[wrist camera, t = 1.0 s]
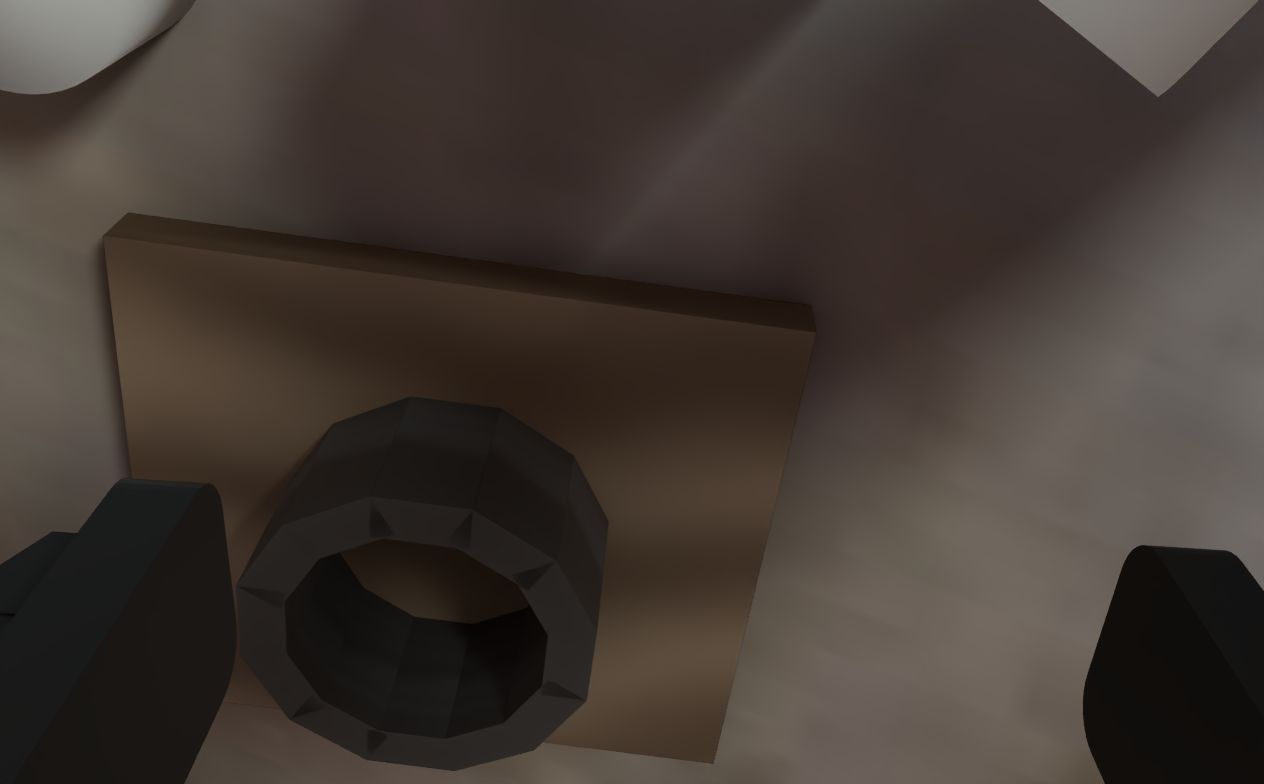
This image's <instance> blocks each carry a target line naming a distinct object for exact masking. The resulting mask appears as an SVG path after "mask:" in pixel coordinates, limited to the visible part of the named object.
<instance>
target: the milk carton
mask: <svg viewBox="0 0 1264 784" xmlns="http://www.w3.org/2000/svg"><path fill="white" fill-rule="evenodd" d="M1039 1H1040V2H1041V3H1043V4H1044V5H1045V6H1046V7H1047V8H1049V9H1050V10H1051V11H1052V12H1054V13H1055V14H1056V15H1057V16H1059V17H1060V18H1061V19H1062V20H1063V21H1065V22H1066V23H1067V24H1068V25H1070V26H1071V27H1072V28H1073V29H1075V30H1076V31H1077V32H1078V33H1079V34H1081V35H1082V36H1083V37H1084V38H1086V39H1087V40H1088V41H1089V42H1091V43H1092V44H1093V45H1094V46H1096V47H1097V48H1098V49H1099V50H1100V51H1102V52H1103V53H1104V54H1105V55H1107V56H1108V57H1109V58H1110V59H1112V60H1113V61H1114V62H1115V63H1116V64H1118V65H1119V66H1120V67H1121V68H1123V69H1124V70H1125V71H1126V72H1128V73H1129V74H1130V75H1131V76H1132V77H1134V78H1135V79H1136V80H1137V81H1139V82H1140V83H1141V84H1142V85H1144V86H1145V87H1146V88H1147V89H1149V90H1150V91H1151V92H1152V93H1153V94H1155V95H1156V96H1157V97H1159V96H1160V95H1161V94H1163V93H1164V92H1165V91H1167V90H1168V89H1169V88H1171V87H1172V86H1173V85H1174V84H1175V83H1176V82H1177V81H1178V80H1179V79H1180V78H1181V77H1182V76H1183V75H1184V74H1185V73H1186V72H1187V71H1188V70H1189V69H1190V68H1191V67H1192V66H1193V65H1194V64H1195V63H1196V62H1197V61H1198V60H1199V59H1200V58H1201V57H1202V56H1203V55H1204V54H1205V53H1206V52H1207V51H1208V50H1209V49H1210V48H1211V47H1212V46H1213V45H1214V44H1215V43H1216V42H1217V41H1218V40H1219V39H1220V38H1221V37H1222V36H1223V35H1224V34H1225V33H1226V32H1227V31H1228V30H1229V29H1230V28H1231V27H1232V26H1233V25H1234V24H1235V23H1236V22H1237V21H1238V20H1239V19H1240V18H1241V17H1242V16H1243V15H1245V14H1246V13H1247V12H1248V11H1249V10H1250V9H1251V8H1252V7H1253V6H1254V5H1255V4H1256V3H1257V2H1258V1H1259V0H1039Z"/></svg>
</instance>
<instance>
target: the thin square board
mask: <svg viewBox="0 0 1264 784" xmlns="http://www.w3.org/2000/svg"><path fill="white" fill-rule="evenodd" d="M103 241H104V249H105V258H106V266H107V274H108V283H109V291H110V300H111V308H112V316H113V325H114V333H115V341H116V350H117V358H118V367H119V375H120V383H121V392H122V400H123V409H124V417H125V425H126V434H127V442H128V450H129V459H130V467H131V476H132V478H134V479H149V480H165V481H181V482H196V483H210V484H213V485H214V486H215V487H216V489H217V490H218V492H219V495H220V498H221V502H222V507H223V515H224V523H225V531H226V540H227V548H228V556H229V564H230V573H231V581H232V589H233V597H234V606H235V614H236V624H237V642H236V654H235V660H234V666H233V671H232V675H231V679H230V683H229V686H228V689H227V692H226V694H225V697H224V699H223V701H222V702H228V703H236V704H244V705H252V706H260V707H268V708H276V709H282V711H283V712H284V713H285V714H286V716H287V717H288V718H289V719H290V720H291V721H293V722H295V723H297V724H299V725H301V726H303V727H305V728H307V729H309V730H311V731H312V732H314V733H316V734H318V735H320V736H322V737H324V738H326V739H328V740H330V741H332V742H333V743H335V744H337V745H339V746H341V747H343V748H345V749H347V750H349V751H351V752H353V753H354V754H356V755H358V756H360V757H362V758H364V759H366V760H371V761H379V762H387V763H395V764H403V765H411V766H419V767H427V768H435V769H443V770H451V771H456V770H460V769H464V768H468V767H472V766H476V765H479V764H483V763H487V762H491V761H495V760H499V759H502V758H506V757H510V756H514V755H518V754H522V753H525V752H529V751H533V750H535V749H536V748H537V747H538V746H539V745H540V744H541V743H542V742H545V743H553V744H561V745H569V746H577V747H585V748H593V749H600V750H608V751H616V752H624V753H632V754H640V755H648V756H656V757H664V758H672V759H680V760H688V761H696V762H703V763H711V764H714V760H715V755H716V751H717V747H718V743H719V739H720V734H721V730H722V726H723V722H724V718H725V714H726V709H727V705H728V701H729V697H730V693H731V688H732V684H733V680H734V676H735V672H736V668H737V663H738V659H739V655H740V651H741V647H742V642H743V638H744V634H745V630H746V626H747V622H748V617H749V613H750V609H751V605H752V601H753V596H754V592H755V588H756V584H757V580H758V576H759V571H760V567H761V563H762V559H763V555H764V550H765V546H766V542H767V538H768V534H769V530H770V525H771V521H772V517H773V513H774V509H775V504H776V500H777V496H778V492H779V488H780V484H781V479H782V475H783V471H784V467H785V463H786V458H787V454H788V450H789V446H790V442H791V438H792V433H793V429H794V425H795V421H796V417H797V412H798V408H799V404H800V400H801V396H802V392H803V387H804V383H805V379H806V375H807V371H808V366H809V362H810V358H811V354H812V350H813V346H814V341H815V337H816V327H815V322H814V317H813V311H812V306H808V305H801V304H793V303H786V302H779V301H771V300H764V299H757V298H749V297H742V296H735V295H727V294H720V293H713V292H705V291H698V290H691V289H683V288H676V287H669V286H661V285H654V284H647V283H639V282H632V281H625V280H617V279H610V278H603V277H595V276H588V275H581V274H573V273H566V272H559V271H552V270H544V269H537V268H530V267H522V266H515V265H508V264H500V263H493V262H486V261H478V260H471V259H464V258H456V257H449V256H442V255H434V254H427V253H420V252H412V251H405V250H398V249H390V248H383V247H376V246H368V245H361V244H354V243H346V242H339V241H332V240H324V239H317V238H310V237H302V236H295V235H288V234H280V233H273V232H266V231H258V230H251V229H244V228H236V227H229V226H222V225H214V224H207V223H200V222H192V221H185V220H178V219H170V218H163V217H156V216H148V215H141V214H134V213H127V214H126V215H125V216H124V217H123V218H122V219H121V220H120V221H119V222H117V223H116V224H115V225H114V226H113V227H112V228H111V229H110V230H109V231H108V232H107V233H105V234H104V235H103Z"/></svg>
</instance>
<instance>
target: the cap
mask: <svg viewBox="0 0 1264 784" xmlns="http://www.w3.org/2000/svg"><path fill="white" fill-rule="evenodd" d="M195 1H196V0H0V90H4V91H9V92H14V93H21V94H49V93H54V92H59V91H63V90H66V89H69V88H71V87H74V86H76V85H78V84H80V83H82V82H84V81H85V80H87V79H89V78H90V77H92V76H94V75H95V74H97V73H98V72H100V71H102V70H103V69H105V68H106V67H108V66H109V65H111V64H113V63H114V62H116V61H117V60H119V59H120V58H122V57H124V56H125V55H127V54H128V53H130V52H132V51H133V50H135V49H136V48H138V47H139V46H141V45H143V44H144V43H146V42H147V41H149V40H150V39H152V38H154V37H155V36H157V35H158V34H160V33H162V32H163V31H165V30H166V29H168V28H169V27H171V26H173V25H174V24H175V23H176V22H178V21H179V20H180V19H181V18H182V17H183V16H184V15H185V14H186V13H187V12H188V11H189V10H190V8H191V7H192V5H193V4H194V2H195Z"/></svg>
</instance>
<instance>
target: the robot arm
mask: <svg viewBox="0 0 1264 784" xmlns="http://www.w3.org/2000/svg"><path fill="white" fill-rule="evenodd" d="M236 642H237V624H236V614H235V606H234V597H233V589H232V581H231V573H230V564H229V556H228V548H227V540H226V531H225V523H224V515H223V507H222V502H221V498H220V495H219V492H218V490H217V489H216V487H215V486H214V485H213V484H210V483H196V482H181V481H165V480H149V479H134V478H124V479H121V480H119V481H118V482H116V484H115V485H114V486H113V487H112V488H111V489H110V491H109V492H108V493H107V495H106V496H105V497H104V499H103V500H102V501H101V503H100V504H99V505H98V507H97V508H96V509H95V510H94V512H93V513H92V514H91V516H90V517H89V518H88V520H87V521H86V522H85V524H84V525H83V526H82V528H81V529H80V530H79V532H78V533H67V532H51V533H49V534H48V535H46V536H45V537H43V538H42V539H40V540H38V541H37V542H35V543H34V544H32V545H31V546H29V547H28V548H26V549H24V550H23V551H21V552H20V553H18V554H17V555H15V556H13V557H12V558H10V559H9V560H7V561H6V562H4V563H3V564H1V565H0V784H184V783H185V781H186V779H187V776H188V774H189V772H190V770H191V768H192V766H193V764H194V761H195V759H196V757H197V755H198V753H199V751H200V749H201V746H202V744H203V742H204V740H205V738H206V736H207V733H208V731H209V729H210V727H211V725H212V723H213V721H214V718H215V716H216V714H217V712H218V710H219V708H220V705H221V703H222V701H223V699H224V697H225V694H226V692H227V689H228V686H229V683H230V679H231V675H232V671H233V666H234V660H235V654H236ZM1083 719H1084V727H1085V733H1086V738H1087V742H1088V745H1089V748H1090V751H1091V753H1092V756H1093V758H1094V760H1095V762H1096V765H1097V767H1098V769H1099V771H1100V774H1101V776H1102V778H1103V780H1104V783H1105V784H1264V591H1263V589H1262V588H1261V587H1260V585H1259V584H1258V583H1257V581H1256V580H1255V579H1254V577H1253V576H1252V575H1251V573H1250V572H1249V571H1248V569H1247V568H1246V567H1245V565H1244V564H1243V563H1242V561H1241V560H1240V559H1239V558H1238V557H1237V556H1236V555H1234V554H1233V553H1231V552H1229V551H1225V550H1210V549H1194V548H1178V547H1162V546H1147V545H1141V546H1138V547H1136V548H1135V549H1133V550H1132V551H1131V552H1130V554H1129V555H1128V556H1127V558H1126V560H1125V562H1124V565H1123V567H1122V570H1121V573H1120V576H1119V579H1118V582H1117V585H1116V588H1115V591H1114V594H1113V597H1112V600H1111V603H1110V607H1109V610H1108V613H1107V616H1106V619H1105V622H1104V625H1103V628H1102V631H1101V634H1100V637H1099V640H1098V643H1097V646H1096V649H1095V653H1094V656H1093V659H1092V662H1091V665H1090V668H1089V671H1088V674H1087V678H1086V681H1085V687H1084V695H1083Z"/></svg>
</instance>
